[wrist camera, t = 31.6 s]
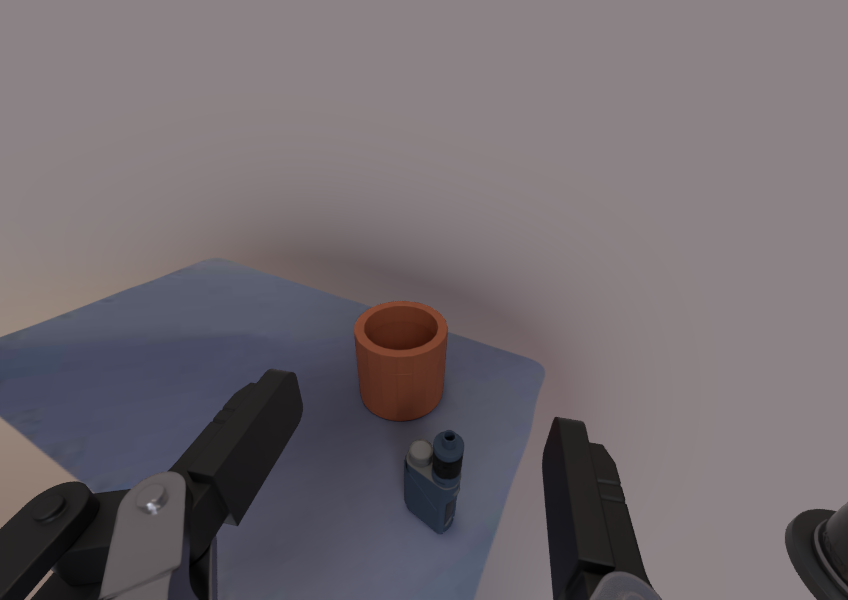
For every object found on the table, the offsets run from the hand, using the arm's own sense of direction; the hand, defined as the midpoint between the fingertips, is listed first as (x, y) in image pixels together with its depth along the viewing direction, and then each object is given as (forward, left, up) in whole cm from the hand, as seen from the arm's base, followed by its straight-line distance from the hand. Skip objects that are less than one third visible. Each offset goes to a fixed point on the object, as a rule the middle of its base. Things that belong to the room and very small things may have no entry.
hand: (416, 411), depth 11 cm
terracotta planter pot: (+7, -25, -26) cm, 37 cm away
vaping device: (+1, -11, -26) cm, 28 cm away
